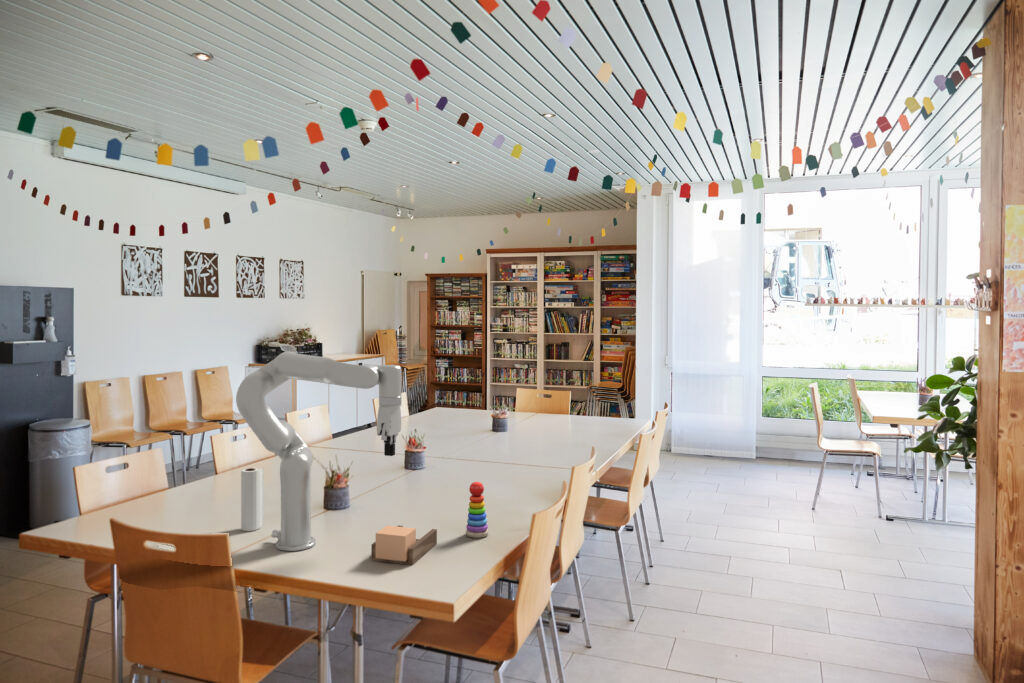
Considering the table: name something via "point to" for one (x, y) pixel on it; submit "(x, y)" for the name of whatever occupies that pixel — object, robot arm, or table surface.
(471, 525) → the stacking toy
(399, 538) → the block
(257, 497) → the paper towel roll
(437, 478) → the table surface
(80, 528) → the table surface
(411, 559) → the chute
